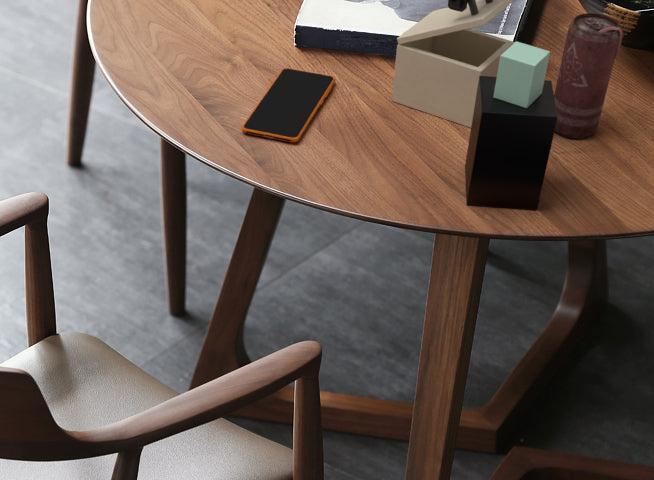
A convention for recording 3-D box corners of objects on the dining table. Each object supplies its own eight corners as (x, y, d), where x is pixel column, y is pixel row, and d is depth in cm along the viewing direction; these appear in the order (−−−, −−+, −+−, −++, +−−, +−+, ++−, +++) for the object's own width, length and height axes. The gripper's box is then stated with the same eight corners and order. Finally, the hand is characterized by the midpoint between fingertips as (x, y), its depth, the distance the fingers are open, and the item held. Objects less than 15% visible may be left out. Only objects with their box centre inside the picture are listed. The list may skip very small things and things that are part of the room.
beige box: (504, 97, 141) (514, 41, 136) (471, 128, 135) (481, 71, 130) (426, 72, 146) (433, 17, 140) (391, 101, 140) (397, 45, 134)
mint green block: (541, 93, 118) (550, 51, 114) (526, 108, 115) (535, 65, 112) (508, 83, 119) (516, 40, 116) (492, 97, 117) (500, 55, 113)
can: (595, 144, 133) (622, 38, 124) (544, 134, 135) (567, 28, 125) (601, 120, 137) (628, 16, 128) (551, 111, 139) (574, 7, 129)
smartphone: (239, 133, 133) (239, 127, 132) (283, 72, 144) (283, 66, 144) (298, 144, 131) (298, 138, 131) (337, 82, 143) (337, 76, 142)
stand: (532, 172, 128) (551, 80, 120) (537, 210, 122) (557, 117, 114) (464, 167, 129) (479, 75, 120) (466, 205, 123) (482, 111, 115)
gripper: (486, -123, 114) (469, 30, 125) (542, -159, 122) (520, -12, 134) (423, -136, 117) (412, 15, 128) (482, -169, 126) (466, -26, 137)
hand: (467, 0), depth 131 cm, fingers closed on lid, 5 cm apart
